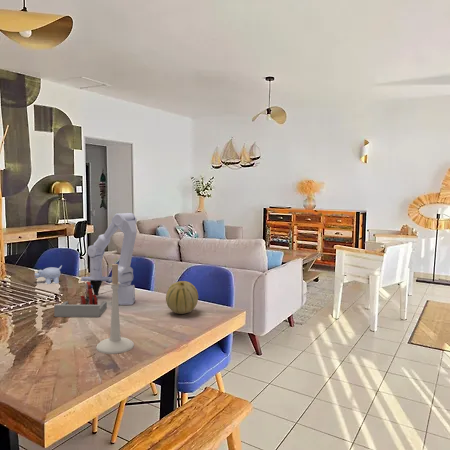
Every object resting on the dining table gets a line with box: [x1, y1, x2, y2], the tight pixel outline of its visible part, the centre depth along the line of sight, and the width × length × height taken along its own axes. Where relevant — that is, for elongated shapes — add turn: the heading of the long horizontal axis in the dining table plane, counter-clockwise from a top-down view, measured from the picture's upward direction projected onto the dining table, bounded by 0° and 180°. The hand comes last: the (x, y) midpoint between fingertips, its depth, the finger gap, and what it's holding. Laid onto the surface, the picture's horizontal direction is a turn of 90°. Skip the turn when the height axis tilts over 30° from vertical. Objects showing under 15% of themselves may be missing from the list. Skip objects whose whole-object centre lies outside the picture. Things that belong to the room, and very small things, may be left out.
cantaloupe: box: [165, 280, 199, 315], centre depth 185 cm, size 15×15×15 cm
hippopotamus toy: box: [34, 264, 63, 285], centre depth 241 cm, size 11×15×10 cm
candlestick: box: [96, 263, 135, 355], centre depth 144 cm, size 13×13×30 cm
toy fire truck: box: [80, 281, 98, 305], centre depth 195 cm, size 7×12×10 cm, turn 25°
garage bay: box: [53, 300, 108, 318], centre depth 184 cm, size 19×14×5 cm
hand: (96, 295), depth 208 cm, fingers closed
